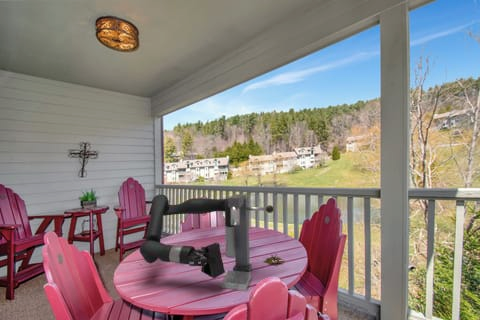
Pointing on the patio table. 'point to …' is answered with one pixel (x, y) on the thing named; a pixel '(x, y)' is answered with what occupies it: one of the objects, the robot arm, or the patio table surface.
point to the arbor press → (241, 243)
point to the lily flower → (274, 260)
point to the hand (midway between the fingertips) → (218, 257)
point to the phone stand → (218, 267)
